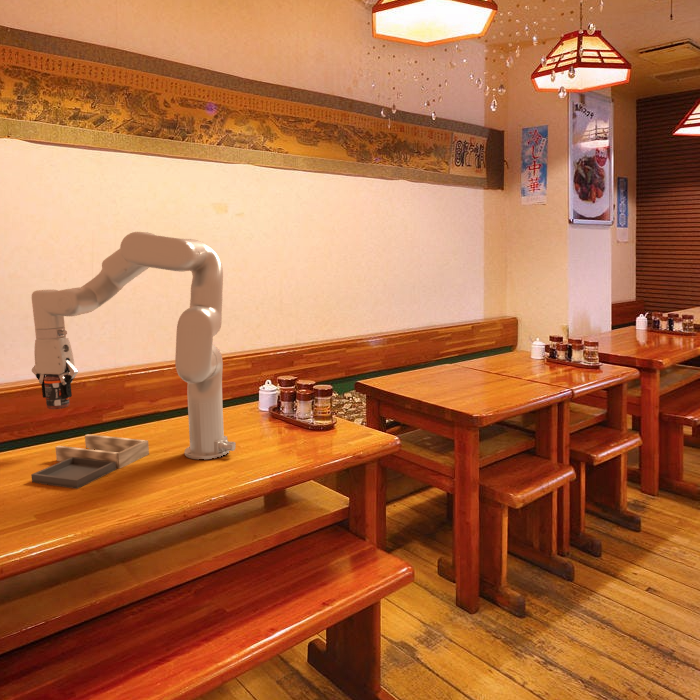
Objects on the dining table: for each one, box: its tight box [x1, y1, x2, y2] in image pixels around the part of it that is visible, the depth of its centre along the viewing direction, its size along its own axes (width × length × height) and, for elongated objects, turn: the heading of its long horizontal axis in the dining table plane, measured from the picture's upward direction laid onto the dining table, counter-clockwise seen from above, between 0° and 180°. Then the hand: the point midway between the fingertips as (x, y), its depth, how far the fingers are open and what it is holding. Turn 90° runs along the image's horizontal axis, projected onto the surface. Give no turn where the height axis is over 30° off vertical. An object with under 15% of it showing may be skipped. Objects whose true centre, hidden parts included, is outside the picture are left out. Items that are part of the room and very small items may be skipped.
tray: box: [31, 457, 117, 489], centre depth 158 cm, size 14×14×2 cm
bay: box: [55, 433, 150, 469], centre depth 172 cm, size 21×12×4 cm, turn 71°
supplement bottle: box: [44, 374, 70, 410], centre depth 174 cm, size 6×6×11 cm
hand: (57, 396), depth 175 cm, fingers closed on supplement bottle, 6 cm apart
